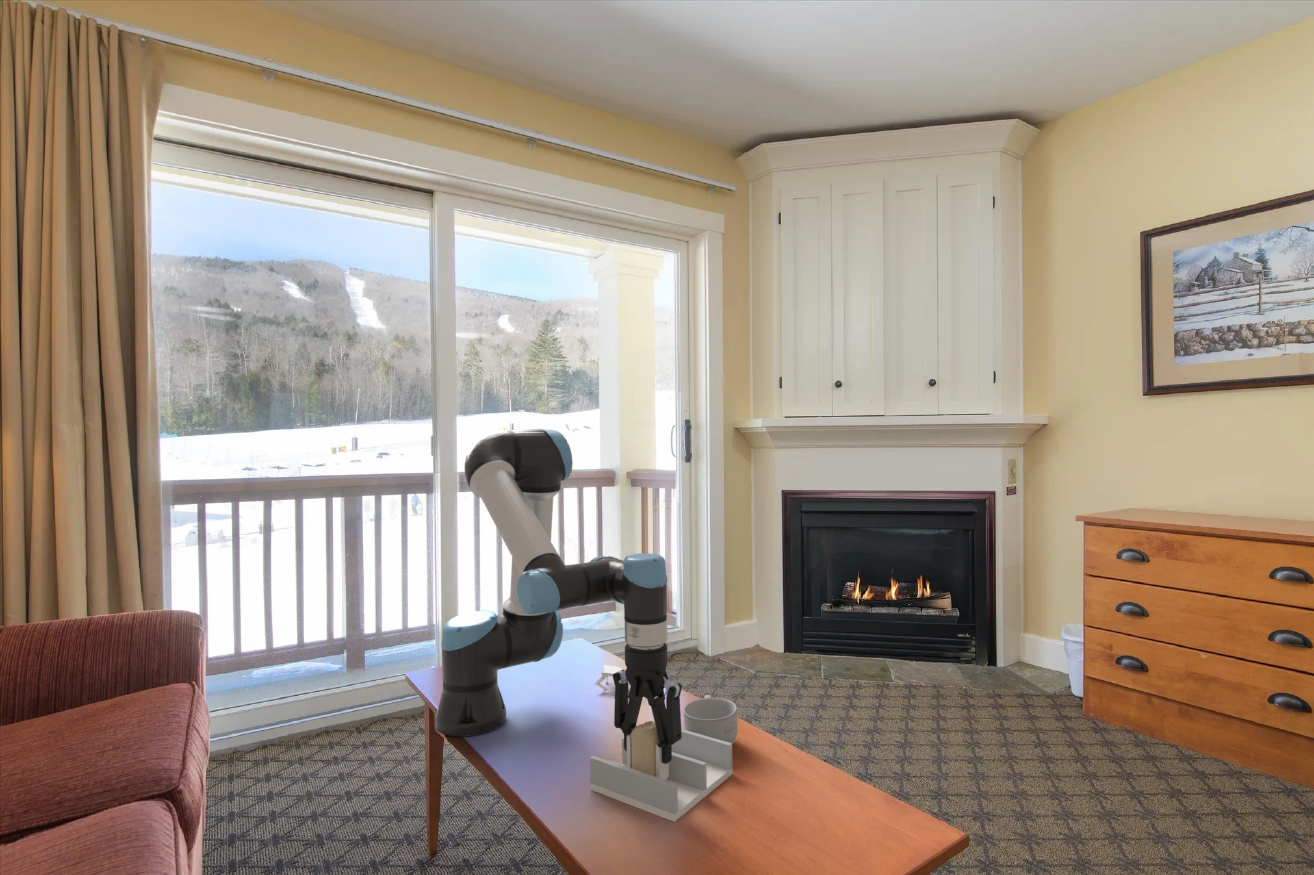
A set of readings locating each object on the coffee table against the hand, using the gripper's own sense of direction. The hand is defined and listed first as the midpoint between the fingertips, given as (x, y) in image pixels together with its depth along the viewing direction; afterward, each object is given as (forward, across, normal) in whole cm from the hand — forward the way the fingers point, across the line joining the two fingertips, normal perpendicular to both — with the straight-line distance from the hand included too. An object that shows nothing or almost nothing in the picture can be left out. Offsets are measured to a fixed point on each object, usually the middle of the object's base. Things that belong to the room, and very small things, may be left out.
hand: (647, 774), depth 123 cm
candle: (+1, 0, 0) cm, 1 cm away
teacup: (+3, -1, +23) cm, 23 cm away
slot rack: (+3, 0, +4) cm, 5 cm away
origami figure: (+4, -35, +34) cm, 49 cm away
